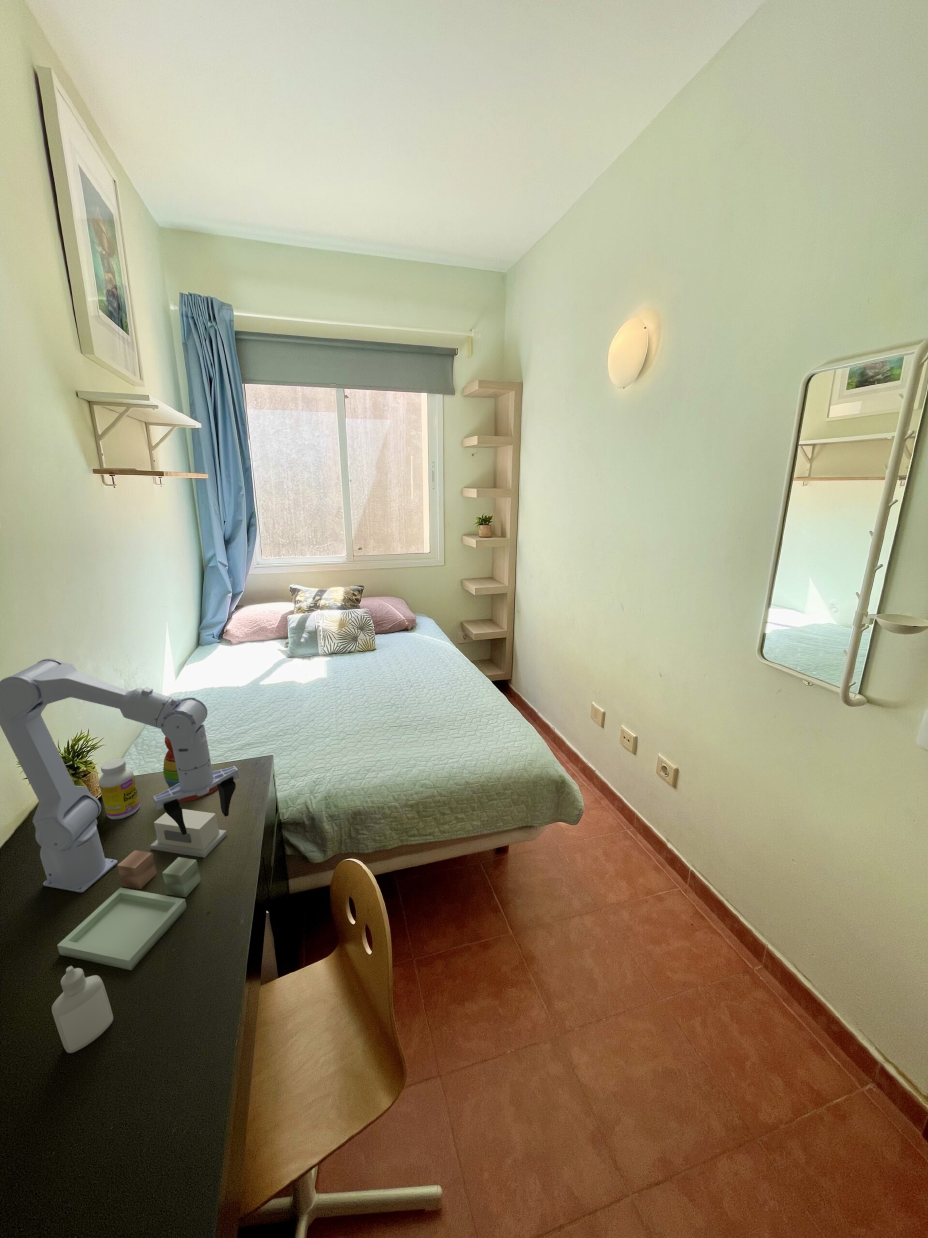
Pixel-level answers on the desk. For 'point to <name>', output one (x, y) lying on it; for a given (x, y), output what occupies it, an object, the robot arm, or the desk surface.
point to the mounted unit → (188, 834)
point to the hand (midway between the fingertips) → (205, 822)
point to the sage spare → (181, 877)
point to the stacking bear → (172, 774)
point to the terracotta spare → (137, 869)
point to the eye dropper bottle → (81, 1009)
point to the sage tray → (123, 928)
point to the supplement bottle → (118, 789)
